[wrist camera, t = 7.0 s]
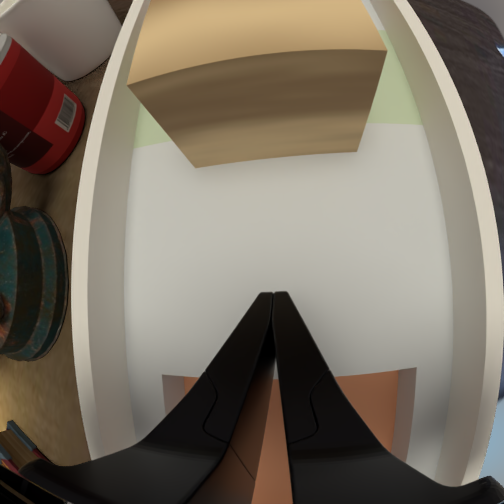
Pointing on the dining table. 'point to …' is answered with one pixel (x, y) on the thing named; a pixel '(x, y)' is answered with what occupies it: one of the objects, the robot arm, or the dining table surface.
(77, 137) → the canned food
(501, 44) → the dining table surface
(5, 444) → the decorative book
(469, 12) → the dining table surface
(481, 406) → the tray
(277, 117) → the wooden block
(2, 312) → the lantern
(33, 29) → the candle holder
